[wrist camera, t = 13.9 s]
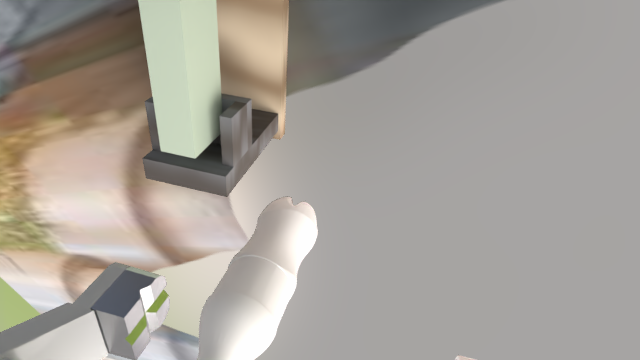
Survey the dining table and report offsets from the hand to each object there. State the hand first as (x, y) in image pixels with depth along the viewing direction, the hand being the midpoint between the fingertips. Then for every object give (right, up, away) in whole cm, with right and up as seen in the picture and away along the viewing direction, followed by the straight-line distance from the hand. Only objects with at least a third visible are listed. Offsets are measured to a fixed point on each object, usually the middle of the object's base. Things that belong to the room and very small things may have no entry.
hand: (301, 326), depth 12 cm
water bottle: (-3, 0, +42) cm, 42 cm away
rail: (-9, +17, +21) cm, 28 cm away
